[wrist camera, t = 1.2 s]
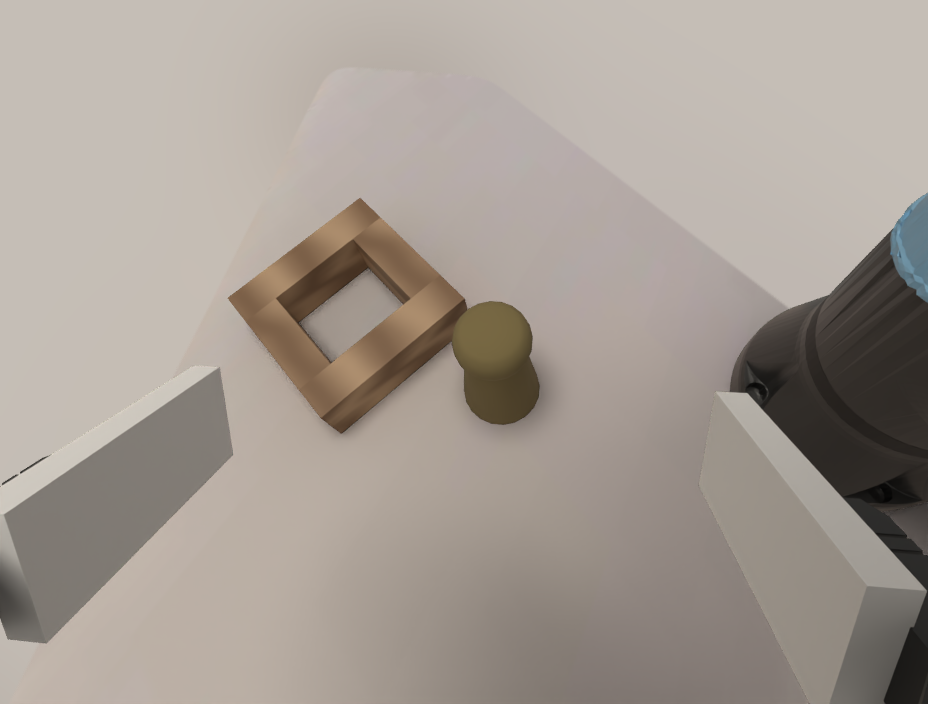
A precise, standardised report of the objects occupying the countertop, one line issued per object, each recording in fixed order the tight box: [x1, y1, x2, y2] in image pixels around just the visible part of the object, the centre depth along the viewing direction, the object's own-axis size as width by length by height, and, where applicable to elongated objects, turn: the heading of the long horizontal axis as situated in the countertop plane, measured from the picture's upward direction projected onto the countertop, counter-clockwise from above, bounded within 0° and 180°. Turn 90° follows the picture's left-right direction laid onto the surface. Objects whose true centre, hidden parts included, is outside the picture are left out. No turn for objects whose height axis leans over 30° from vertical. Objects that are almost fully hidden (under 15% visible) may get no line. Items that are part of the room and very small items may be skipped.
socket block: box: [228, 198, 467, 433], centre depth 46 cm, size 14×14×4 cm
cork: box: [452, 301, 539, 425], centre depth 39 cm, size 6×6×11 cm
